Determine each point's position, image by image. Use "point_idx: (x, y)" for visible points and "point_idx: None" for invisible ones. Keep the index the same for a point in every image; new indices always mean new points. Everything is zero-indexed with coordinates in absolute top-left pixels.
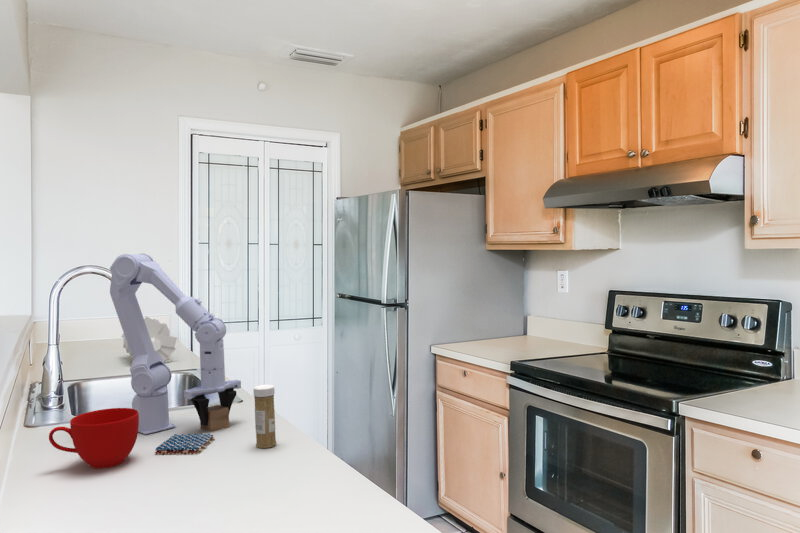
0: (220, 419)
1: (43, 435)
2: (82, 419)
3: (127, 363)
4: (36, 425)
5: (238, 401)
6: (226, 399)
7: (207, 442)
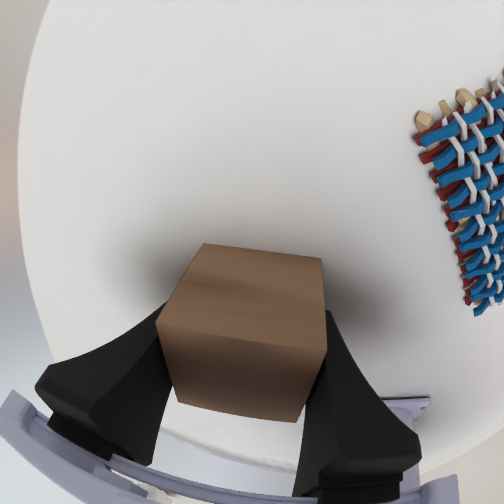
0: (246, 286)
1: (441, 458)
2: None
3: (174, 494)
4: None
5: None
6: (133, 389)
7: (480, 100)
